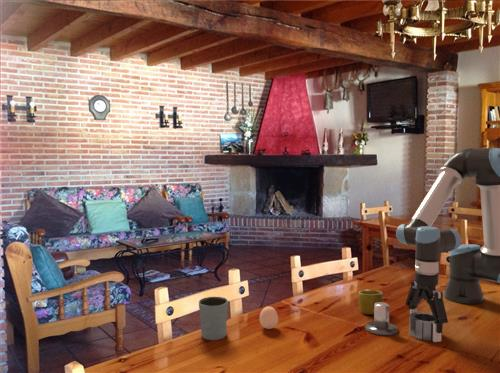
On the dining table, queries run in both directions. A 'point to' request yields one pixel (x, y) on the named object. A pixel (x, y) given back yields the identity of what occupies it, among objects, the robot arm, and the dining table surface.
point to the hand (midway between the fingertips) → (424, 334)
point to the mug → (369, 300)
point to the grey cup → (213, 317)
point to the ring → (421, 325)
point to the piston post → (381, 321)
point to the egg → (268, 318)
